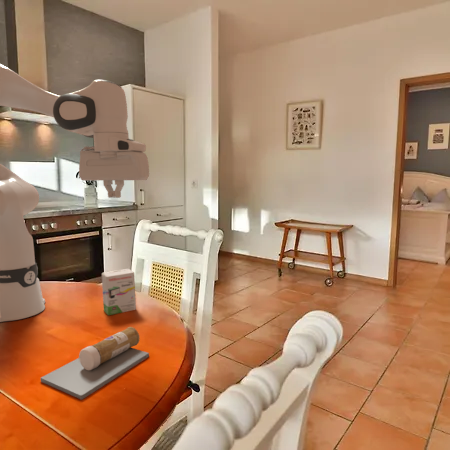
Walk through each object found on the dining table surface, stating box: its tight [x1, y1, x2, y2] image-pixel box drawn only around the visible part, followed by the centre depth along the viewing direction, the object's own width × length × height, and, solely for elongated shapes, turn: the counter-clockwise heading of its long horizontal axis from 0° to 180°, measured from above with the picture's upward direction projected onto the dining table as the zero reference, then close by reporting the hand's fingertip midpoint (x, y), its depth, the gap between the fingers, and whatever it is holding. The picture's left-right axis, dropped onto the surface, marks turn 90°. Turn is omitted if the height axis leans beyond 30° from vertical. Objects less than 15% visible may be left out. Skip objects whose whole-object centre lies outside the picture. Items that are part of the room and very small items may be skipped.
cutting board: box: [40, 347, 150, 400], centre depth 77 cm, size 18×12×1 cm, turn 150°
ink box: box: [101, 268, 137, 316], centre depth 109 cm, size 8×5×12 cm, turn 123°
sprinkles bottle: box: [78, 326, 140, 370], centre depth 80 cm, size 5×5×13 cm
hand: (114, 197), depth 99 cm, fingers closed
